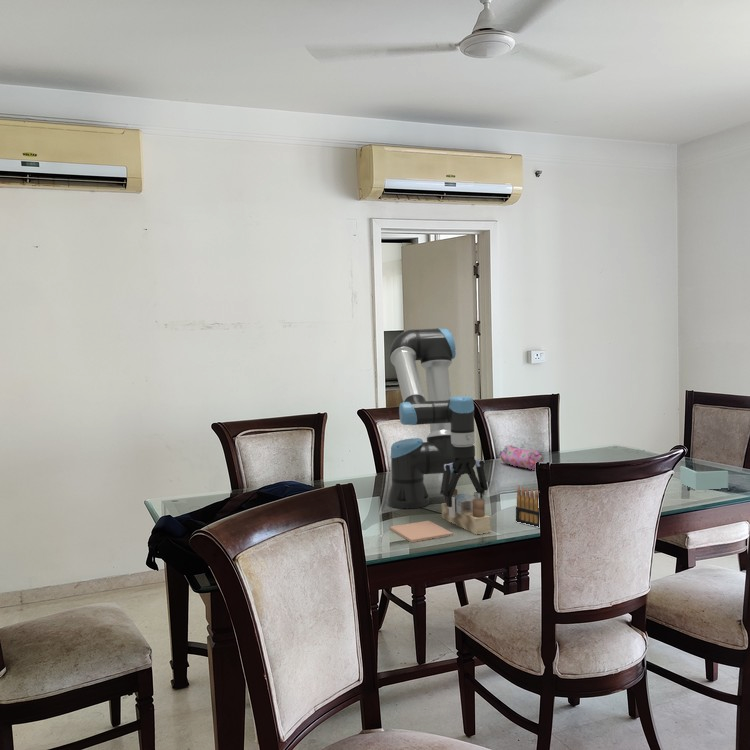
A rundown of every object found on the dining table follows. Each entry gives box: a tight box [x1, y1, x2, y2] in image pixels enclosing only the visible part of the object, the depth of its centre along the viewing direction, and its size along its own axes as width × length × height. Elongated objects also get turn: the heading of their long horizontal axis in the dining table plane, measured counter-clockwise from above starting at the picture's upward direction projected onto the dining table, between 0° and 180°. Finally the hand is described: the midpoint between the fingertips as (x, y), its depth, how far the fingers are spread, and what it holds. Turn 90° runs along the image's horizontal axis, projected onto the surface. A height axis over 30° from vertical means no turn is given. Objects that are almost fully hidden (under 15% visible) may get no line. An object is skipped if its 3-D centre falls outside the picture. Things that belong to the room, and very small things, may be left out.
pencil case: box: [499, 445, 544, 471], centre depth 308 cm, size 21×9×9 cm, turn 26°
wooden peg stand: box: [441, 488, 491, 536], centre depth 220 cm, size 22×5×10 cm, turn 23°
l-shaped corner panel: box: [679, 465, 729, 490], centre depth 257 cm, size 12×12×8 cm
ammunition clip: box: [515, 485, 539, 527], centre depth 218 cm, size 11×2×12 cm, turn 38°
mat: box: [389, 520, 454, 543], centre depth 214 cm, size 16×14×1 cm
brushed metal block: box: [447, 492, 483, 515], centre depth 220 cm, size 9×8×4 cm
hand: (464, 514), depth 220 cm, fingers open, 9 cm apart
